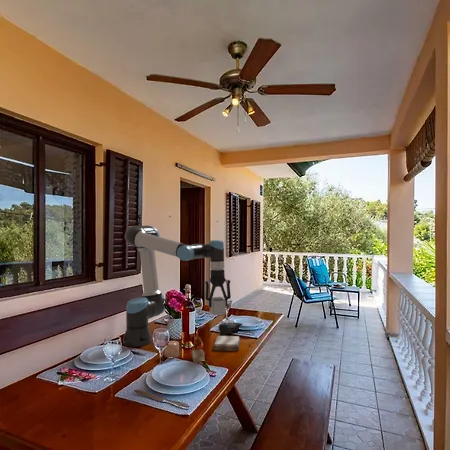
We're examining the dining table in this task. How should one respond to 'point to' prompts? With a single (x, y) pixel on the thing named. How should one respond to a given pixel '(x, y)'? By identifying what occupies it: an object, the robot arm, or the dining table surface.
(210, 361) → the dining table surface
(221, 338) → the stand
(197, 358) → the beech block
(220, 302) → the housing
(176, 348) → the brown rounded block
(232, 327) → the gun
